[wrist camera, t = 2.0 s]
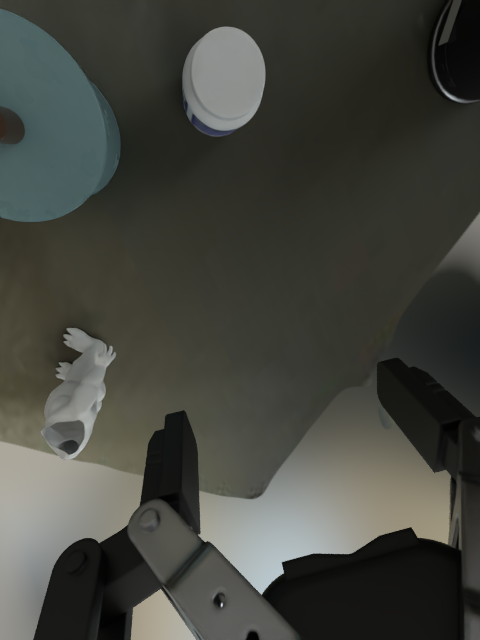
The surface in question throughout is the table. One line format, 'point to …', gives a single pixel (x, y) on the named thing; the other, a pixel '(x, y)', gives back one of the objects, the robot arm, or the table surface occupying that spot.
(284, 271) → the table surface
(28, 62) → the pot
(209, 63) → the pill bottle
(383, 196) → the table surface
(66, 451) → the toy creature
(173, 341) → the table surface
